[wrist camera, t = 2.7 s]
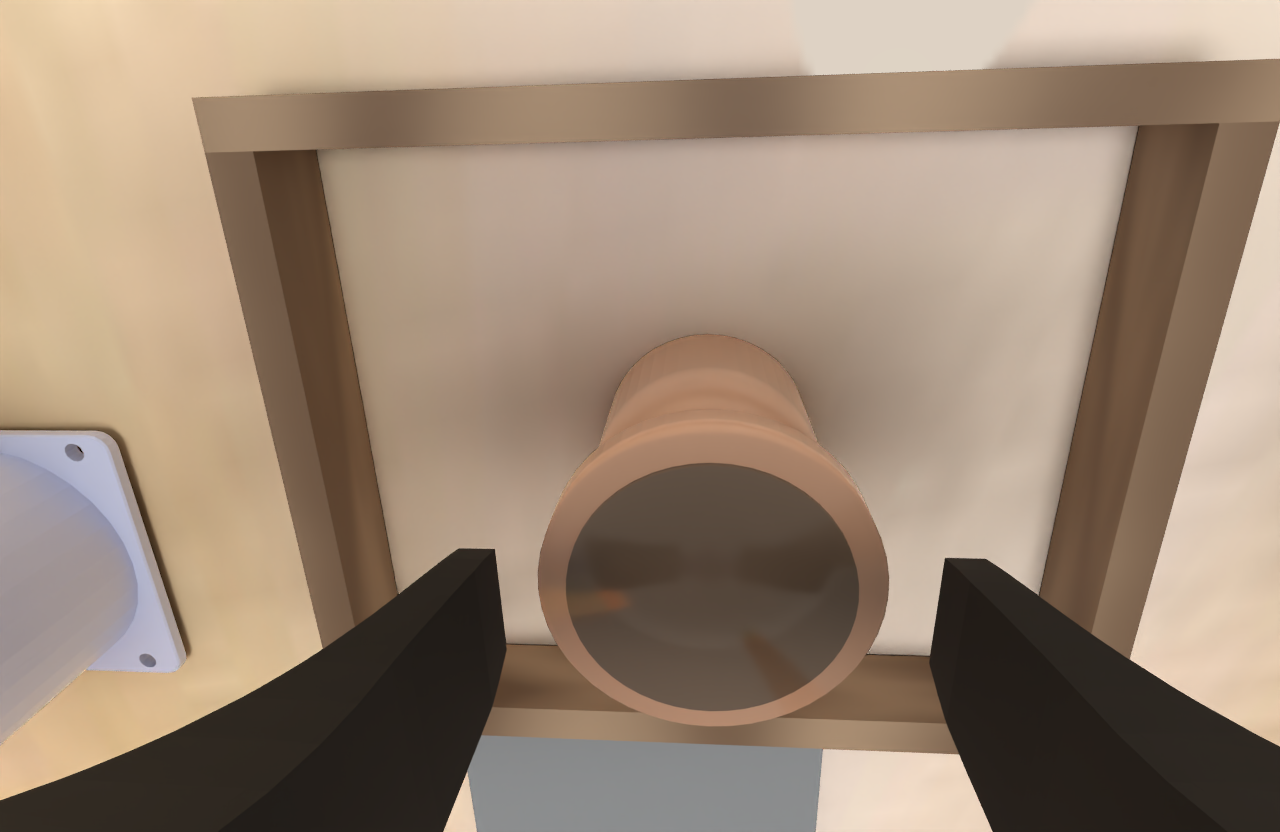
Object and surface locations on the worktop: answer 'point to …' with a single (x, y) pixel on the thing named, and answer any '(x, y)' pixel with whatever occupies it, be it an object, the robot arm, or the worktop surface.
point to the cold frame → (752, 107)
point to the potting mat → (641, 786)
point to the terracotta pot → (712, 545)
